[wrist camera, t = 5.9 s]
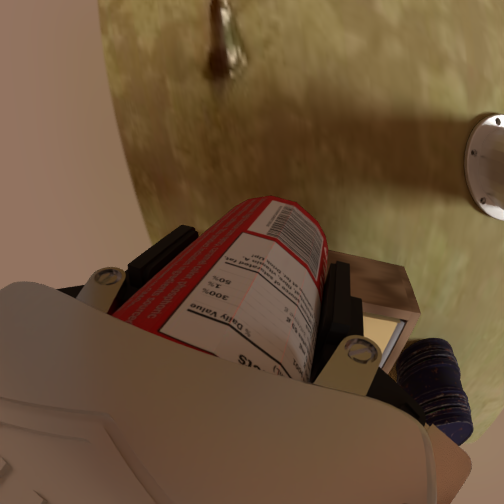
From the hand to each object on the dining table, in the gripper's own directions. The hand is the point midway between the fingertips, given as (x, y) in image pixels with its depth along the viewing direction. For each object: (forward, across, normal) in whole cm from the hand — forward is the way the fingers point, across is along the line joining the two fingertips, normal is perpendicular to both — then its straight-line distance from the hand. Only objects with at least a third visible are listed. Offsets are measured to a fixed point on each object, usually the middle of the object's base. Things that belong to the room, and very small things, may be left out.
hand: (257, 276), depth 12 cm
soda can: (+3, 0, 0) cm, 3 cm away
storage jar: (+22, -24, +22) cm, 39 cm away
